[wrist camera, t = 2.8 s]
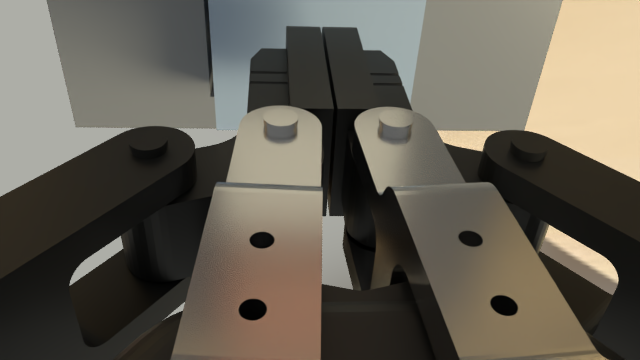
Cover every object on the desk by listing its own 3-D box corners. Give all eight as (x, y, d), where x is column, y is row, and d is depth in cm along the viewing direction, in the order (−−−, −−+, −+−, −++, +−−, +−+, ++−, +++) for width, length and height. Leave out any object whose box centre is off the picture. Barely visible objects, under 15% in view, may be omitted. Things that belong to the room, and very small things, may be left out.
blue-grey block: (407, -100, 16) (436, -65, 13) (386, 72, 19) (405, 131, 16) (216, -108, 15) (203, -73, 13) (225, 69, 18) (216, 130, 15)
